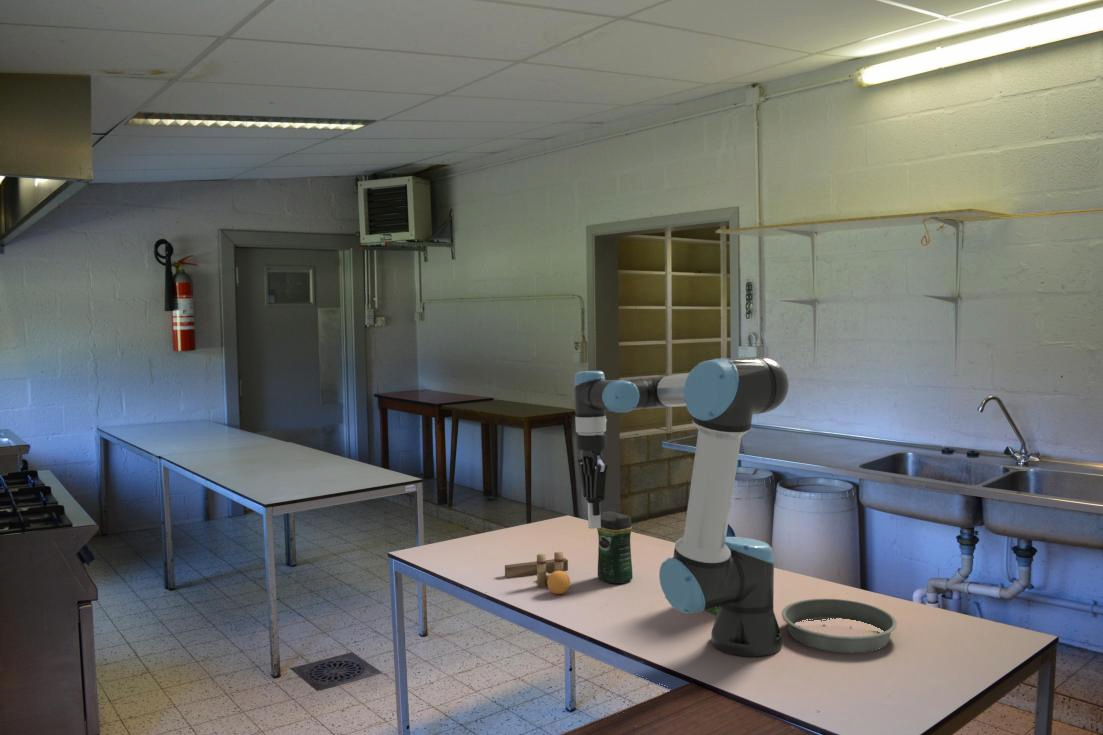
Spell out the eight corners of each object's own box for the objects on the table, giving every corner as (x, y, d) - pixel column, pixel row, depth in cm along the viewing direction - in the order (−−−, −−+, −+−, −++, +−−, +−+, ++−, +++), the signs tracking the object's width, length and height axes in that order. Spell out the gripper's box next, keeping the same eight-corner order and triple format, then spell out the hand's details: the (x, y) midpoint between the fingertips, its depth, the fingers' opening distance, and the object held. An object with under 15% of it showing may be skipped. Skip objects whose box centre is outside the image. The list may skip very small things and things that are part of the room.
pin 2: (565, 584, 233) (564, 553, 232) (556, 585, 232) (555, 554, 231) (562, 582, 235) (561, 551, 235) (553, 583, 234) (552, 552, 234)
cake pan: (760, 625, 201) (760, 606, 201) (845, 610, 210) (845, 592, 209) (828, 665, 178) (828, 643, 178) (922, 646, 187) (922, 626, 187)
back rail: (567, 570, 246) (567, 560, 245) (507, 578, 239) (507, 567, 239) (564, 568, 248) (564, 557, 248) (505, 575, 242) (504, 565, 242)
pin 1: (547, 587, 231) (547, 555, 230) (539, 588, 230) (538, 556, 230) (544, 584, 233) (544, 553, 233) (535, 585, 233) (535, 554, 232)
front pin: (557, 578, 230) (547, 569, 238) (549, 580, 229) (538, 571, 237) (558, 587, 230) (547, 578, 238) (549, 589, 229) (539, 580, 237)
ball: (563, 571, 230) (568, 594, 228) (542, 575, 228) (547, 598, 226) (569, 566, 225) (575, 589, 223) (548, 570, 223) (554, 593, 220)
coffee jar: (637, 580, 235) (636, 513, 234) (615, 586, 230) (614, 518, 229) (614, 572, 243) (613, 507, 242) (592, 578, 238) (591, 511, 237)
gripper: (616, 434, 209) (619, 531, 209) (594, 429, 221) (597, 521, 222) (588, 436, 206) (591, 534, 207) (567, 432, 218) (570, 524, 219)
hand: (594, 527), depth 214 cm, fingers closed
